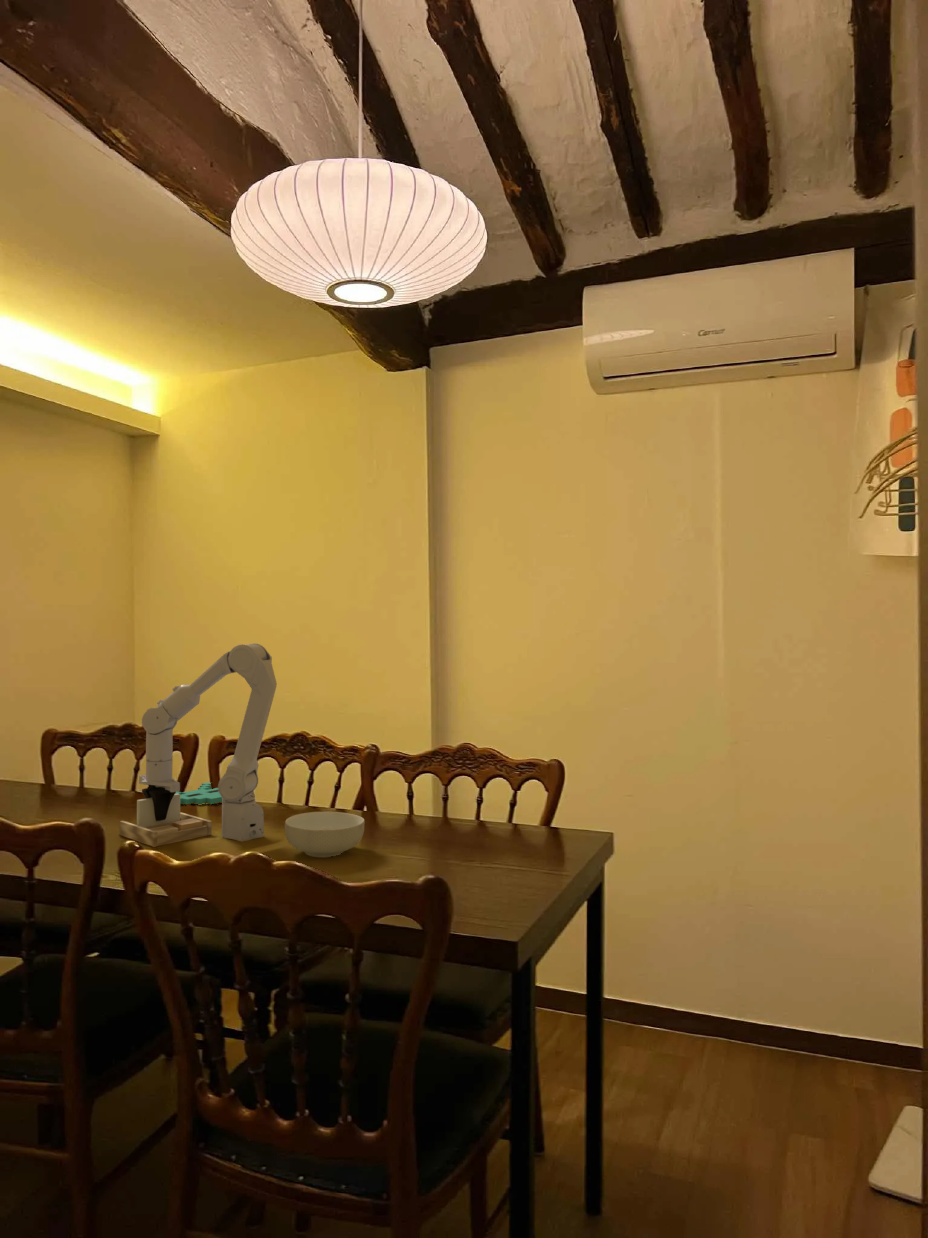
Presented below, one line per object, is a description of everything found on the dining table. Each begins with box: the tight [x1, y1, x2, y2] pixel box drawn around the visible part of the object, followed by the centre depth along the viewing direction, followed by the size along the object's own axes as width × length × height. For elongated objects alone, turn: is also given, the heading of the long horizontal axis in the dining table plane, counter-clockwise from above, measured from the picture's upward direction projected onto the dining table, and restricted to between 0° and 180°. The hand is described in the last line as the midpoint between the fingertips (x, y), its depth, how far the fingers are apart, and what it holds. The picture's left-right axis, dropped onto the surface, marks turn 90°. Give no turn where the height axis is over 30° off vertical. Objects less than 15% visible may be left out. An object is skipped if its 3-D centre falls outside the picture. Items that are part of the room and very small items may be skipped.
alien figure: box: [175, 782, 222, 804], centre depth 233 cm, size 20×2×20 cm
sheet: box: [136, 793, 181, 827], centre depth 191 cm, size 1×10×8 cm, turn 139°
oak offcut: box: [172, 818, 202, 831], centre depth 189 cm, size 4×5×3 cm
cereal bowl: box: [284, 811, 366, 858], centre depth 179 cm, size 17×17×7 cm
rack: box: [118, 811, 213, 848], centre depth 189 cm, size 15×14×4 cm
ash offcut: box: [150, 825, 178, 835], centre depth 185 cm, size 4×5×2 cm
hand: (158, 819), depth 191 cm, fingers closed on sheet
